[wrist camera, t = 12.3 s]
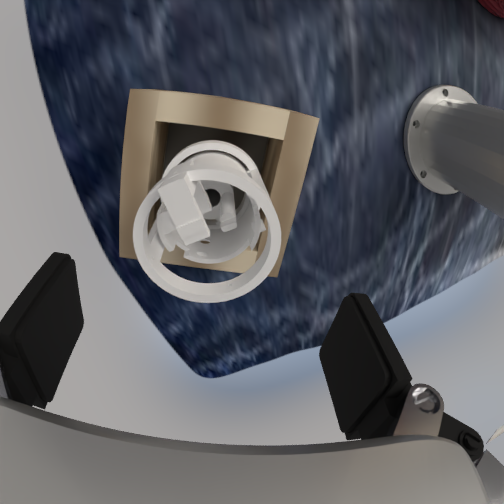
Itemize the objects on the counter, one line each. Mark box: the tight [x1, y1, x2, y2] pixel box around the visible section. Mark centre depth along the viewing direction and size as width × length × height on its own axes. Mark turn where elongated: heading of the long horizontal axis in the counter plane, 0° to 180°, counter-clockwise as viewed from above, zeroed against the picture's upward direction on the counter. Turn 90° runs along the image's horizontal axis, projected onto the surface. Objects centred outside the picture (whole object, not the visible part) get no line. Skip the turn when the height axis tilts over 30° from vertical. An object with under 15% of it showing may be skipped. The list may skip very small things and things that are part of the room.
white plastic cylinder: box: [133, 140, 281, 303], centre depth 20 cm, size 7×7×15 cm
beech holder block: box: [119, 89, 319, 277], centre depth 25 cm, size 13×13×7 cm
